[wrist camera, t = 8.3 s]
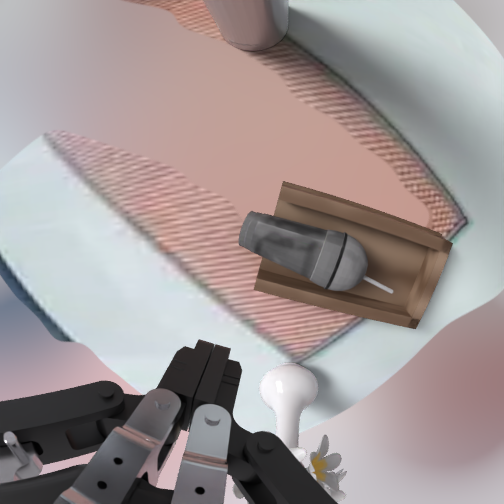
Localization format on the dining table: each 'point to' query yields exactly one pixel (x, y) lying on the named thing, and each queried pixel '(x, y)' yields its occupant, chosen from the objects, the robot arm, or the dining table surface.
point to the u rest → (378, 254)
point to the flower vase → (287, 422)
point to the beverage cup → (308, 251)
